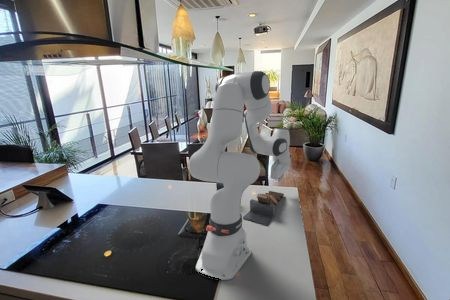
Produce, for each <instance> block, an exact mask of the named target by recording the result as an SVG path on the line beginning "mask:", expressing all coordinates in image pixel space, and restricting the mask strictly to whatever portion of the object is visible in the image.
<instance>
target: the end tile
mask: <svg viewBox="0 0 450 300" xmlns="http://www.w3.org/2000/svg"><path fill="white" fill-rule="evenodd" d="M268 193H270V194H274V195H277V196H279V197H285V196H284V193H281V192H277V191H273V190H268Z"/></svg>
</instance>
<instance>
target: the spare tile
mask: <svg viewBox="0 0 450 300" xmlns="http://www.w3.org/2000/svg"><path fill="white" fill-rule="evenodd" d="M263 194H264V195H267V194H265V193H263ZM268 196H270V198H271V200H272V202H273V204H274V205H275V204H276V205H278V202H279V200H277V199H275V198H274V197H273V196H271V195H268Z"/></svg>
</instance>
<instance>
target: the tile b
mask: <svg viewBox="0 0 450 300" xmlns="http://www.w3.org/2000/svg"><path fill="white" fill-rule="evenodd" d="M264 194H267V195H271V196H273V197H274V198H275V199H276V200H277V201H281V197H282V196H277V195H274V194H270V193H269V192H265V193H264Z"/></svg>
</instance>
